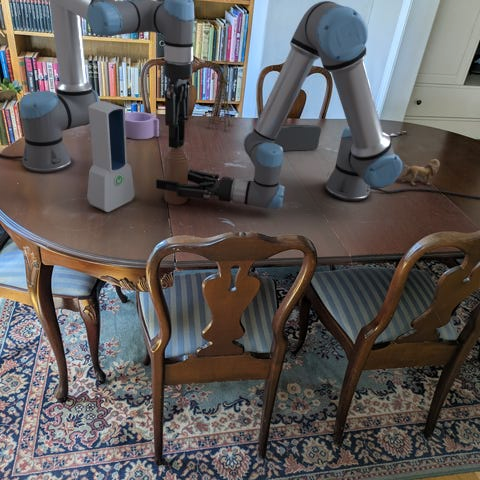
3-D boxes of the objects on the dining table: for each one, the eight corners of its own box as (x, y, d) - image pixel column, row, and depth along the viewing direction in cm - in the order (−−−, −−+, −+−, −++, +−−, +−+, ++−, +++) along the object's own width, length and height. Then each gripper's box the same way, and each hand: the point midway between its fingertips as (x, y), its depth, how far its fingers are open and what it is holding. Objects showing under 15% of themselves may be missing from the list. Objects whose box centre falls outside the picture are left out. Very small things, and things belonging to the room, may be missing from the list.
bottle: (165, 192, 150) (166, 134, 139) (188, 194, 150) (190, 136, 140) (162, 203, 144) (163, 143, 133) (186, 205, 144) (188, 145, 134)
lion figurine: (428, 178, 179) (435, 156, 174) (437, 184, 175) (445, 162, 170) (396, 181, 174) (403, 158, 169) (405, 187, 170) (412, 164, 165)
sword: (403, 131, 224) (404, 129, 223) (408, 133, 222) (409, 131, 221) (360, 143, 208) (360, 140, 207) (365, 145, 206) (366, 142, 205)
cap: (181, 147, 135) (181, 141, 134) (167, 145, 136) (167, 139, 135) (185, 142, 139) (185, 136, 138) (172, 140, 139) (172, 134, 138)
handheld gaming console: (315, 147, 196) (319, 124, 190) (317, 149, 194) (322, 126, 188) (264, 149, 189) (267, 125, 183) (266, 152, 187) (269, 127, 181)
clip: (108, 140, 182) (107, 123, 178) (105, 128, 191) (104, 112, 188) (160, 138, 188) (160, 121, 184) (154, 127, 198) (154, 111, 194)
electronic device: (105, 214, 135) (97, 112, 119) (87, 205, 138) (77, 105, 122) (135, 199, 144) (132, 102, 128) (117, 191, 147) (112, 96, 131)
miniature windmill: (225, 131, 202) (231, 58, 186) (207, 128, 203) (211, 56, 187) (230, 124, 210) (236, 54, 194) (212, 121, 211) (216, 51, 195)
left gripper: (177, 54, 132) (176, 133, 145) (151, 65, 118) (152, 152, 131) (202, 58, 131) (198, 137, 144) (179, 70, 117) (177, 157, 130)
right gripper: (225, 216, 136) (149, 203, 138) (237, 187, 152) (170, 176, 155) (227, 193, 132) (149, 180, 134) (239, 166, 148) (170, 155, 151)
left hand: (176, 144), depth 137 cm, fingers closed on cap, 4 cm apart
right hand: (160, 178), depth 144 cm, fingers closed on bottle, 7 cm apart
